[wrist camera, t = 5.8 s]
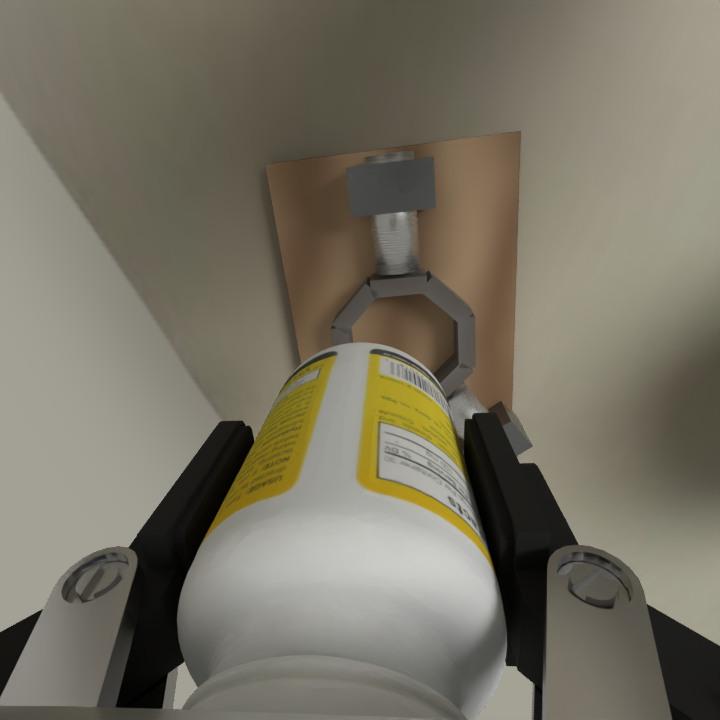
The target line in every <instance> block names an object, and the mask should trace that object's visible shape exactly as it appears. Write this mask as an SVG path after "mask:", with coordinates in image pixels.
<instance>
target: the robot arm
mask: <svg viewBox="0 0 720 720" xmlns="http://www.w3.org/2000/svg"><path fill="white" fill-rule="evenodd" d="M253 444H254V437H253V433H252V429H251V427H250V426H245V424H244V422H243V421H221V422H220V423H219V424H218V425H217V426H216V428H215V429H214V430H213V432H212V433H211V434H210V436H209V437H208V439H207V440H206V441H205V443H204V444H203V445H202V447H201V448H200V450H199V451H198V453H197V454H196V455H195V456H194V458H193V459H192V460H191V462H190V463H189V465H188V466H187V467H186V469H185V470H184V471H183V473H182V474H181V476H180V477H179V478H178V480H177V481H176V482H175V484H174V485H173V486H172V488H171V489H170V491H169V492H168V493H167V495H166V496H165V497H164V499H163V500H162V502H161V503H160V504H159V506H158V507H157V508H156V510H155V511H154V512H153V514H152V515H151V517H150V518H149V519H148V521H147V522H146V523H145V525H144V526H143V527H142V529H141V530H140V532H139V533H138V534H137V537H136V538H135V539H134V541H133V542H132V543H131V545H130V546H129V548H128V547H120V546H117V547H110V548H105V549H102V550H99V551H96V552H94V553H92V554H90V555H88V556H86V557H84V558H82V559H81V560H80V561H78V562H77V563H75V564H74V565H73V566H71V567H70V568H69V569H68V570H67V571H66V572H65V573H64V574H63V575H62V576H61V577H60V579H59V580H58V582H57V583H56V585H55V587H54V588H53V590H52V593H51V594H50V597H49V599H48V601H47V603H46V605H45V607H44V609H42V610H41V611H38V612H37V613H35V614H33V615H31V616H29V617H27V618H26V619H24V620H22V621H20V622H18V623H16V624H15V625H13V626H11V627H9V628H7V629H6V630H4V631H2V632H0V720H451V719H427V718H403V717H379V716H352V715H325V714H297V713H269V712H240V711H211V710H180V709H179V710H178V709H173V702H174V694H175V688H176V680H177V674H178V672H177V670H178V669H177V667H178V666H179V665H181V664H182V663H183V662H184V658H183V655H182V652H181V649H180V644H179V640H178V627H177V613H178V605H179V599H180V594H181V591H182V587H183V585H184V582H185V579H186V576H187V573H188V571H189V569H190V567H191V565H192V563H193V561H194V559H195V556H196V554H197V551H198V549H199V547H200V545H201V543H202V541H203V540H204V538H205V536H206V534H207V532H208V530H209V528H210V526H211V524H212V522H213V521H214V519H215V517H216V515H217V513H218V511H219V509H220V507H221V505H222V503H223V501H224V499H225V498H226V496H227V494H228V492H229V490H230V488H231V486H232V484H233V482H234V480H235V478H236V477H237V475H238V473H239V471H240V469H241V467H242V465H243V463H244V461H245V459H246V457H247V455H248V453H249V451H250V449H251V448H252V446H253ZM464 459H465V463H466V467H467V470H468V474H469V477H470V481H471V485H472V488H473V492H474V496H475V500H476V504H477V507H478V511H479V514H480V518H481V522H482V526H483V530H484V533H485V537H486V541H487V544H488V548H489V551H490V555H491V559H492V562H493V565H494V569H495V572H496V576H497V580H498V584H499V588H500V593H501V598H502V602H503V608H504V614H505V621H506V629H507V651H506V659H505V662H506V665H507V666H517V669H518V671H519V672H521V673H522V674H523V675H524V676H525V677H527V678H528V679H529V680H530V681H532V682H533V694H532V695H533V696H532V720H720V646H719V645H717V644H715V643H714V642H712V641H710V640H708V639H707V638H705V637H703V636H701V635H700V634H698V633H696V632H694V631H693V630H691V629H689V628H688V627H686V626H684V625H682V624H681V623H679V622H677V621H675V620H674V619H672V618H670V617H668V616H667V615H665V614H663V613H661V612H660V611H658V610H656V609H654V608H653V607H651V606H649V605H648V604H646V599H645V595H644V590H643V588H642V586H641V583H640V581H639V579H638V577H637V576H636V575H635V574H634V573H633V571H632V570H631V569H630V568H629V567H628V566H627V565H626V564H624V563H623V562H622V561H621V560H619V559H618V558H616V557H615V556H613V555H611V554H609V553H607V552H605V551H603V550H600V549H597V548H594V547H591V546H583V545H579V544H578V542H577V541H576V539H575V537H574V535H573V533H572V531H571V529H570V527H569V525H568V523H567V521H566V519H565V518H564V516H563V514H562V512H561V510H560V508H559V506H558V504H557V502H556V500H555V498H554V496H553V495H552V493H551V491H550V489H549V487H548V485H547V483H546V481H545V479H544V477H543V475H542V473H541V471H540V470H539V468H538V466H537V465H536V464H534V463H523V464H520V463H519V461H518V459H517V457H516V455H515V452H514V450H513V448H512V446H511V444H510V442H509V439H508V437H507V435H506V433H505V431H504V429H503V426H502V424H501V422H500V420H499V418H498V416H497V414H496V412H488V413H473V414H472V419H465V422H464Z"/></svg>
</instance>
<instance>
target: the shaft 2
mask: <svg viewBox="0 0 720 720" xmlns="http://www.w3.org/2000/svg"><path fill="white" fill-rule="evenodd" d="M447 400H448V402H449V405H450V409H451V412H452V416H453V419H454V423H455V426H456V430H457V433H458V437H459V441H460V444H461V448H462V451H463V455H464V422H465V419H472V414H473V413H488V412H496V414H497V416H498V418H499V420H500V422H501V424H502V426H503V429H504V431H505V433H506V435H507V437H508V439H509V442H510V444H511V446H512V448H513V450H514V452H515V455H516V457H517V456H518V455H519V454H521V453H522V452H524V451H526V450H527V449H529V448H531V447H532V444H531V442H530V440H529V438H528V437H527V435H526V433H525V431H524V429H523V427H522V425H521V423H520V421H519V419H518V418H517V416H516V415H515V414H514V413H513V411H512V413H511V412H510V411H509V409H508V408H507V407H506V406H505V405H504V403H503V402H502V401H500V402H498V403H497V404H495V405H494V406H492V407H491V408H489V409H488V410H487V409H486V407H485V406H484V405H483V404H482V403H481V402H480V400H479V399H478V398H477V397H476V396H475V395H474V393H473V392H472V391H471V390H470V389H469V388H468V386H467V385H466V384H465V383H464V382H463V383H462V384H460V385H459V386H458V387H457V388H456V389H455V390H454V391H453V392H452V393H451V394H450V395H449V396H448V397H447Z"/></svg>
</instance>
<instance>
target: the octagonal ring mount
mask: <svg viewBox="0 0 720 720" xmlns="http://www.w3.org/2000/svg"><path fill="white" fill-rule="evenodd" d="M520 141H521V131H516V132H509V133H501V134H494V135H486V136H478V137H471V138H463V139H455V140H448V141H440V142H432V143H425V144H417V145H410V146H402V147H394V148H387V149H379V150H371V151H364V152H356V153H348V154H341V155H333V156H325V157H318V158H310V159H303V160H295V161H287V162H280V163H272V164H265V168H266V173H267V179H268V184H269V190H270V195H271V201H272V207H273V212H274V218H275V223H276V229H277V234H278V240H279V245H280V251H281V256H282V262H283V267H284V273H285V278H286V284H287V289H288V295H289V301H290V306H291V312H292V317H293V323H294V328H295V334H296V339H297V345H298V350H299V356H300V361H301V364H302V363H303V362H304V361H306V360H307V359H308V358H310V357H311V356H313V355H315V354H316V353H318V352H320V351H322V350H325V349H327V348H330V347H333V346H337V345H341V344H347V343H356V342H365V343H375V344H381V345H386V346H389V347H392V348H395V349H398V350H400V351H402V352H404V353H406V354H408V355H410V356H411V357H413V358H415V359H416V360H418V361H419V362H420V363H421V364H423V365H424V366H425V367H426V368H427V369H428V370H429V371H430V372H431V373H432V374H433V376H434V377H435V378H436V379H437V381H438V382H439V384H440V385H441V387H442V389H443V391H444V393H445V395H446V398H447V397H448V396H449V395H450V394H451V393H452V392H453V391H454V390H455V389H456V388H457V387H458V386H459V385H460V384H462V383H463V382H464V383H465V384H466V385H467V386H468V388H469V389H470V390H471V391H472V392H473V393H474V395H475V396H476V397H477V398H478V399H479V400H480V402H481V403H482V404H483V405H484V406H485V407H486V409H487V410H488V409H489V408H491V407H492V406H494V405H495V404H497V403H498V402H500V401H502V402H503V403H504V405H505V406H506V407H507V408H508V409H509V411H510V412H511V413H512V391H513V360H514V329H515V297H516V266H517V235H518V203H519V172H520ZM405 151H414V159H418V158H426V157H434V171H435V197H436V208H433V209H424V210H417V217H418V235H419V253H420V269H419V270H417V271H414V272H410V273H405V274H397V275H380V274H376V273H375V265H374V255H373V245H372V234H371V224H370V216H362V217H353V218H351V212H350V203H349V194H348V186H347V177H346V168H347V167H355V166H363V165H365V163H364V158H365V157H368V156H373V155H380V154H386V153H395V152H405Z"/></svg>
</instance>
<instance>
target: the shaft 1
mask: <svg viewBox="0 0 720 720" xmlns="http://www.w3.org/2000/svg"><path fill="white" fill-rule="evenodd" d="M364 163H365V165H363V166H355V167H347V168H346V177H347V186H348V194H349V203H350V212H351V218H353V217H362V216H370V224H371V234H372V245H373V255H374V265H375V273H376V274H380V275H397V274H405V273H410V272H414V271H417V270H419V269H420V253H419V235H418V217H417V210H424V209H433V208H436V197H435V171H434V157H426V158H418V159H414V151H405V152H395V153H386V154H380V155H373V156H368V157H365V158H364Z"/></svg>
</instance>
